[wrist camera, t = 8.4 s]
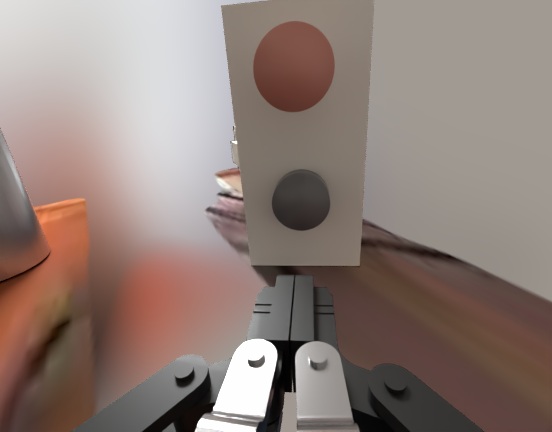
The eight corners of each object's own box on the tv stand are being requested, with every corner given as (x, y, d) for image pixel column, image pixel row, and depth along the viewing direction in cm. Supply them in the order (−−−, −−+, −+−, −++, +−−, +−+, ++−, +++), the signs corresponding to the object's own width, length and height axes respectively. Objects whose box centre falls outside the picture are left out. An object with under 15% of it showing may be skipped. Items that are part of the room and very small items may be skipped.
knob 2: (273, 230, 23) (269, 177, 22) (283, 197, 31) (280, 154, 29) (330, 230, 23) (330, 175, 21) (325, 196, 30) (325, 152, 28)
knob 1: (257, 114, 17) (249, 25, 15) (273, 106, 24) (269, 46, 23) (334, 109, 16) (335, 16, 15) (327, 103, 24) (327, 40, 22)
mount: (251, 265, 28) (221, 5, 20) (262, 233, 34) (242, 25, 26) (359, 266, 26) (374, -12, 18) (350, 232, 33) (359, 13, 25)
